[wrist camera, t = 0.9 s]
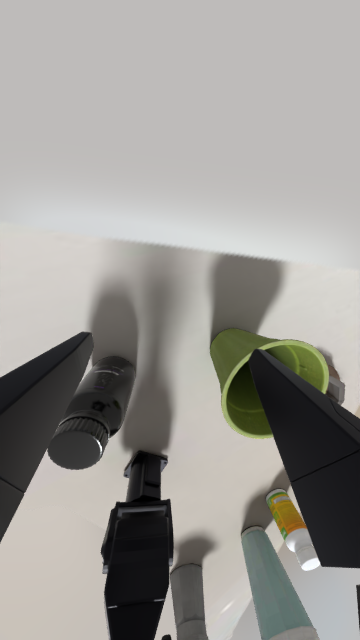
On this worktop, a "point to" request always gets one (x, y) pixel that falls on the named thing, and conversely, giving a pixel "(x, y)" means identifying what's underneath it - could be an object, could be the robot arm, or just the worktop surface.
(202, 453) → the worktop surface
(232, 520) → the worktop surface
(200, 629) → the coffeepot
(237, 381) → the plant pot
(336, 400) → the brown grey round base
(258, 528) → the disposable coffee cup
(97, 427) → the supplement bottle
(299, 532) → the supplement bottle
